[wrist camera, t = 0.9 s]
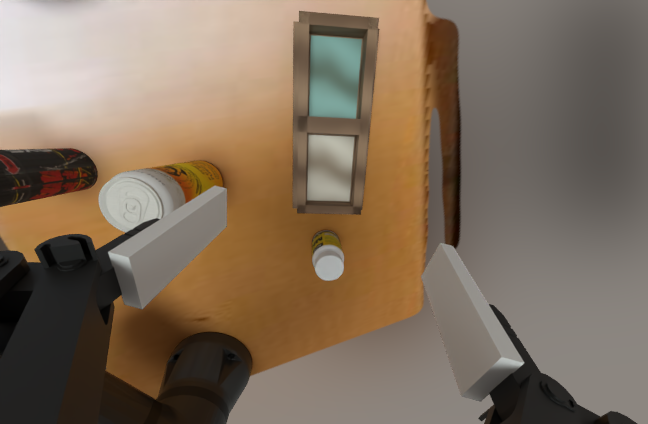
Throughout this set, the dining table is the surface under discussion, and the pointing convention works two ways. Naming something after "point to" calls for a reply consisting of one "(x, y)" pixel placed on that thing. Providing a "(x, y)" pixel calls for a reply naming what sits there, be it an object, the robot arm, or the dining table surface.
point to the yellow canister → (154, 192)
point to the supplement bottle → (327, 255)
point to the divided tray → (332, 110)
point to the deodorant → (43, 174)
